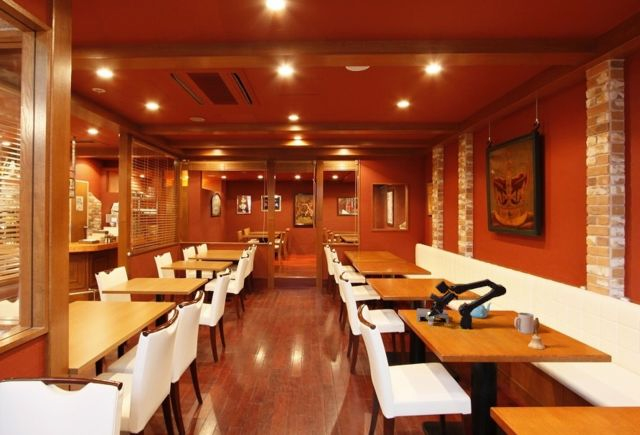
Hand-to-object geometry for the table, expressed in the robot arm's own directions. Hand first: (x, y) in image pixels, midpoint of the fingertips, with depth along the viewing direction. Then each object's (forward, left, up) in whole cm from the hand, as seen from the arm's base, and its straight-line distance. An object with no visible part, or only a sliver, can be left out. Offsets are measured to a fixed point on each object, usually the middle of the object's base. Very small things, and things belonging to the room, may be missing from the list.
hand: (428, 314), depth 248 cm
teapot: (-35, -31, -7) cm, 48 cm away
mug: (-56, +2, -7) cm, 57 cm away
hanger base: (-3, -14, -7) cm, 16 cm away
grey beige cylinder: (-1, 0, -7) cm, 7 cm away
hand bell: (-55, +29, -7) cm, 63 cm away
